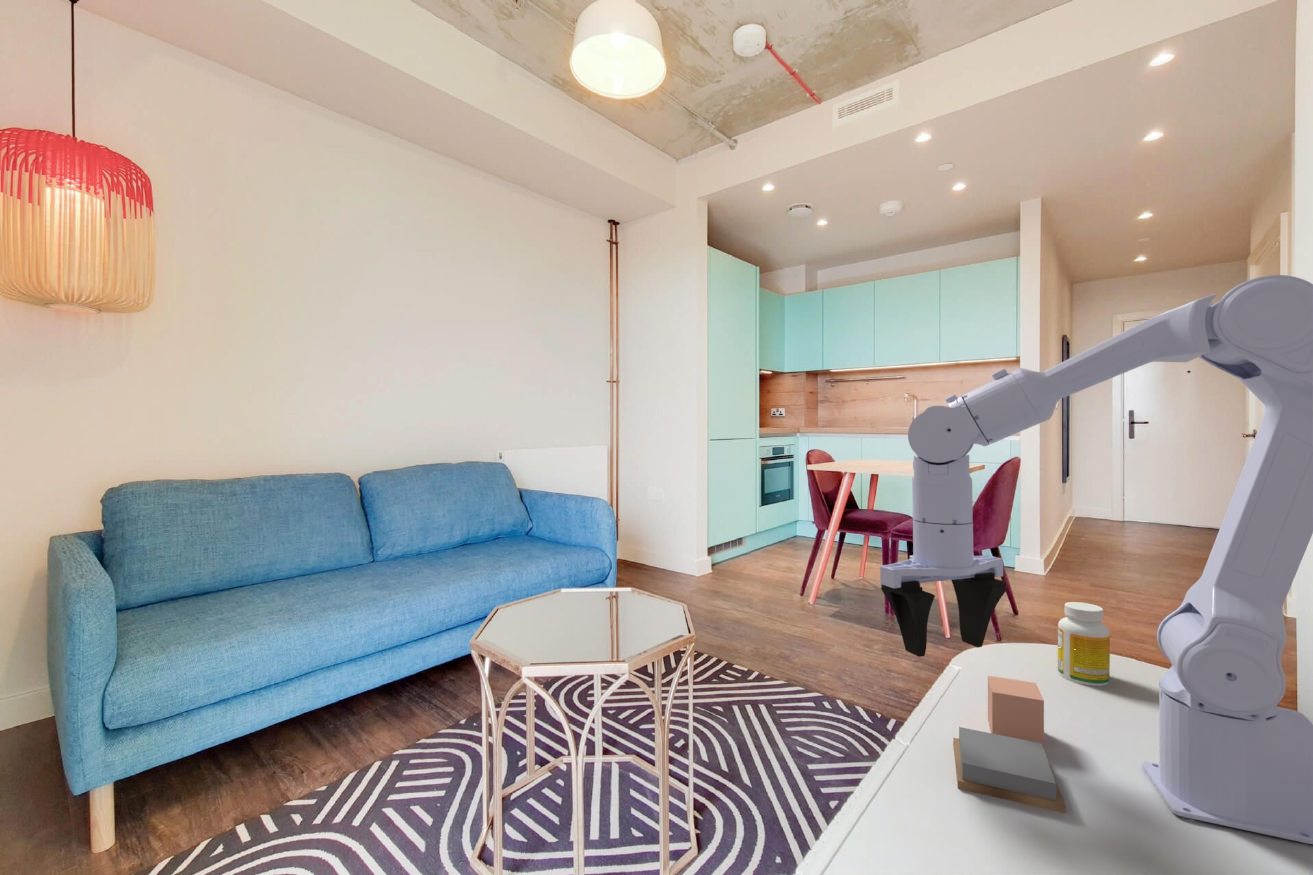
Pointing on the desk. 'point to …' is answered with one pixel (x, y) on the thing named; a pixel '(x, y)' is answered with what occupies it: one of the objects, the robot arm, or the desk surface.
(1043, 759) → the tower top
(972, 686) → the desk surface
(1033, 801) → the tower base
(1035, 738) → the terracotta block
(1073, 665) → the supplement bottle
